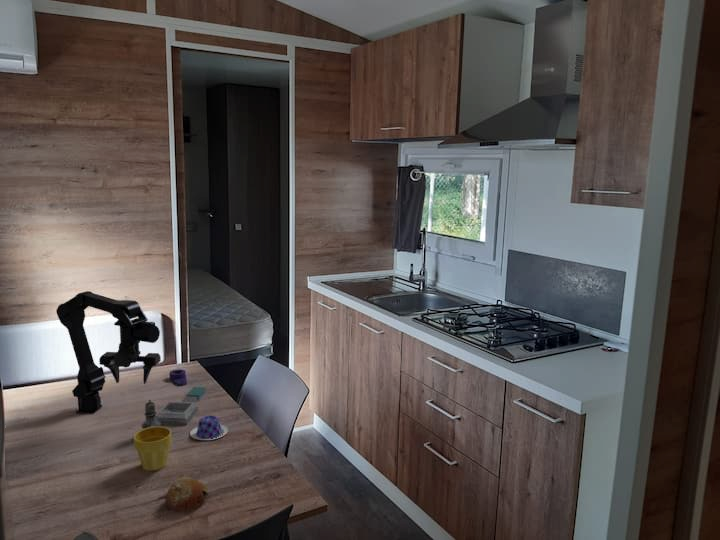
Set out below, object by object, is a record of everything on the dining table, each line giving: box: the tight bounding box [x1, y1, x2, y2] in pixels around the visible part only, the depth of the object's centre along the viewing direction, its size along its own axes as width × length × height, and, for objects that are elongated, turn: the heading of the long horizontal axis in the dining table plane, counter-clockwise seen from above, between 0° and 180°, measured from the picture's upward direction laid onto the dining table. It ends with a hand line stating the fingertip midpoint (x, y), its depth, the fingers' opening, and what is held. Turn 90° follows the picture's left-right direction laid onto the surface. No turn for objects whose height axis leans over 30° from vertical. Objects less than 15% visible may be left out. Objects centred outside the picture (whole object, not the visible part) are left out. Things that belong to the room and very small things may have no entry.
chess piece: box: [141, 399, 162, 429], centre depth 187 cm, size 6×6×12 cm
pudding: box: [189, 415, 229, 441], centre depth 190 cm, size 12×12×5 cm
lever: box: [168, 368, 188, 387], centre depth 236 cm, size 12×6×3 cm, turn 30°
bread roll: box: [165, 476, 209, 513], centre depth 151 cm, size 10×10×8 cm
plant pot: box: [132, 425, 173, 472], centre depth 168 cm, size 10×10×10 cm
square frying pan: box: [156, 386, 207, 425], centre depth 210 cm, size 11×29×4 cm, turn 176°
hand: (131, 383), depth 198 cm, fingers open, 9 cm apart
